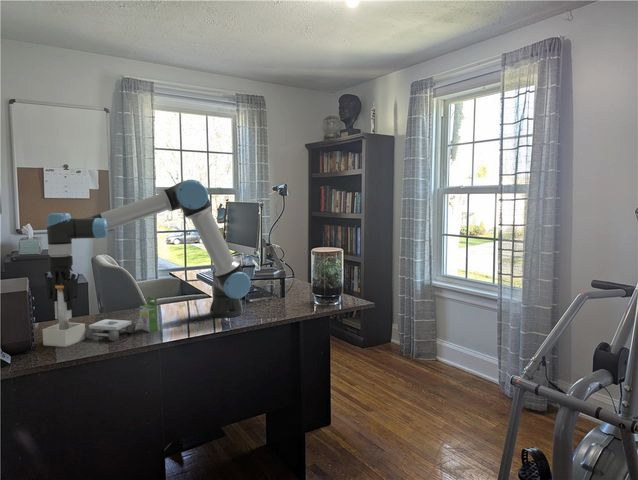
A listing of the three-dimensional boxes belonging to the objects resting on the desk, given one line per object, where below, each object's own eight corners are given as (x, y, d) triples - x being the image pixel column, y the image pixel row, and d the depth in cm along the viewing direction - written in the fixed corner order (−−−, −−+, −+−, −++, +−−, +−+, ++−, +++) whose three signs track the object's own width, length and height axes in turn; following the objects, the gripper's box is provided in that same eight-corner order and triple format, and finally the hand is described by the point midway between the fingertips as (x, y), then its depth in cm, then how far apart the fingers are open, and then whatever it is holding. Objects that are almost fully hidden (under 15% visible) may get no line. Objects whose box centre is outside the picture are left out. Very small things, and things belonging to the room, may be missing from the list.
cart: (135, 331, 176) (135, 319, 176) (112, 342, 163) (112, 328, 162) (109, 329, 179) (108, 317, 178) (84, 340, 165) (84, 327, 165)
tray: (85, 339, 167) (84, 323, 166) (66, 347, 157) (65, 330, 157) (63, 337, 169) (63, 322, 168) (43, 345, 159) (42, 329, 159)
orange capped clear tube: (73, 334, 164) (71, 283, 163) (64, 337, 160) (62, 285, 158) (63, 333, 165) (61, 283, 164) (54, 337, 161) (51, 285, 159)
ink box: (140, 329, 179) (139, 297, 178) (149, 327, 182) (148, 295, 181) (149, 332, 175) (147, 299, 174) (158, 330, 178) (157, 297, 177)
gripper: (87, 254, 162) (89, 317, 164) (49, 253, 166) (53, 314, 167) (71, 257, 155) (74, 322, 157) (33, 256, 158) (36, 319, 160)
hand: (63, 318), depth 162 cm, fingers closed on orange capped clear tube, 3 cm apart
